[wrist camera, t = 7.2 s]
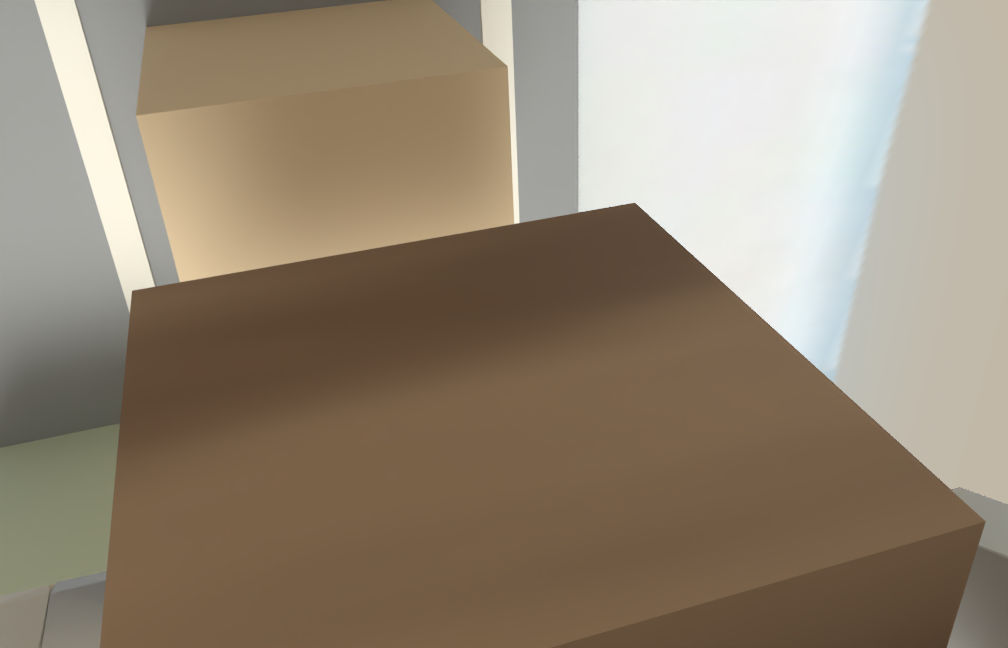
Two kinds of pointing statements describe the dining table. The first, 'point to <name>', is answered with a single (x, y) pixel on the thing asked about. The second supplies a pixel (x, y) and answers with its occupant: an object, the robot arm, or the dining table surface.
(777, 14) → the dining table surface
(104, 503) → the sage block
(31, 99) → the building board
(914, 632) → the walnut block
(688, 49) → the dining table surface
